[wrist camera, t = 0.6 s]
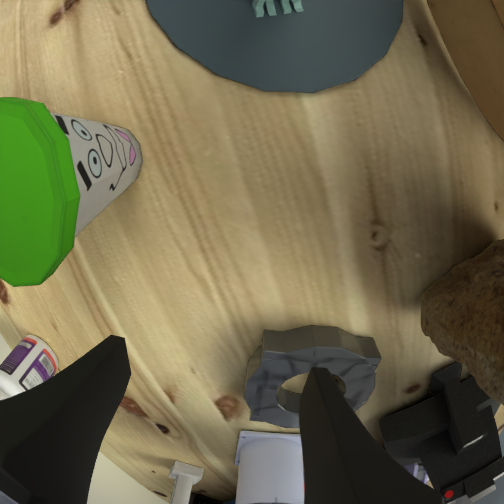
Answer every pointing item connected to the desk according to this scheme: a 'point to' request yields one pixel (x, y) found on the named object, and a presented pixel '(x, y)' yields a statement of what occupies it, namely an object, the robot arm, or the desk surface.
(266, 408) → the grey hollow flat block
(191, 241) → the desk surface
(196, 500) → the multiport hub
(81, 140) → the cup
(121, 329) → the desk surface
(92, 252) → the desk surface
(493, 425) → the camera
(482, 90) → the steamer basket
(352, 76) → the dinosaur
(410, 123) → the desk surface
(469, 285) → the stone
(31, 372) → the pill bottle
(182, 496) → the model tower
